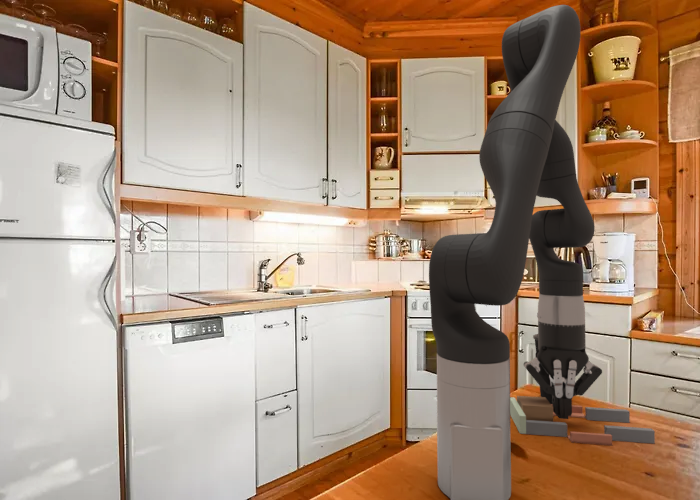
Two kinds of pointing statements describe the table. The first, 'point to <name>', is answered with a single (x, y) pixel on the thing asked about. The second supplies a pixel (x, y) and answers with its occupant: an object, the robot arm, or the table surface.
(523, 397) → the walnut block
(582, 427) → the table surface
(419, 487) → the table surface
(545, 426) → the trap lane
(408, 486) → the table surface
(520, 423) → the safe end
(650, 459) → the table surface
